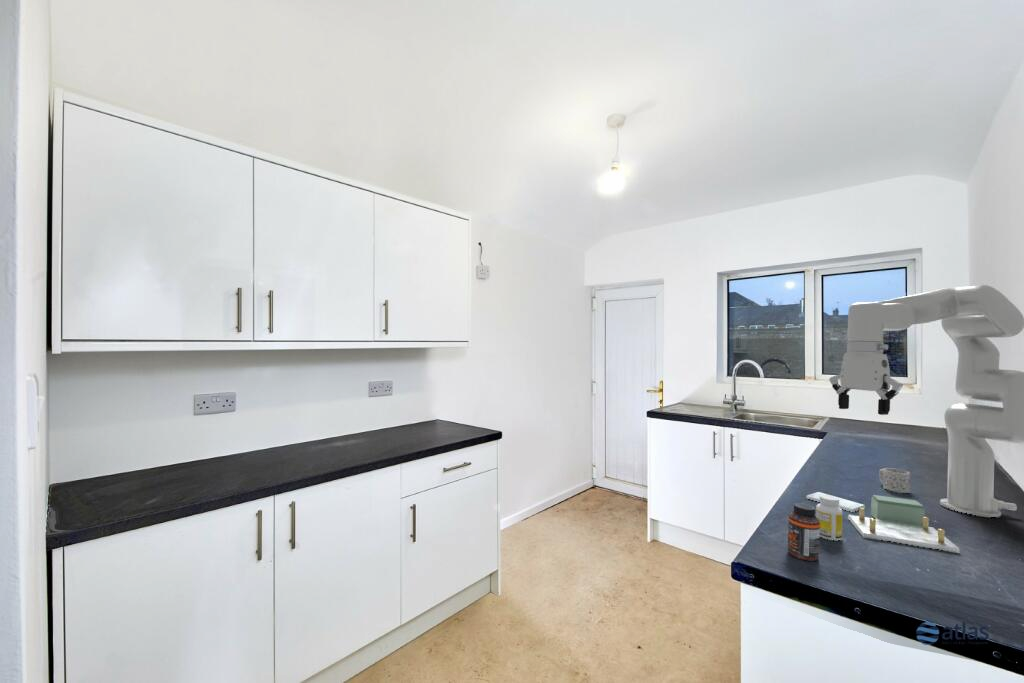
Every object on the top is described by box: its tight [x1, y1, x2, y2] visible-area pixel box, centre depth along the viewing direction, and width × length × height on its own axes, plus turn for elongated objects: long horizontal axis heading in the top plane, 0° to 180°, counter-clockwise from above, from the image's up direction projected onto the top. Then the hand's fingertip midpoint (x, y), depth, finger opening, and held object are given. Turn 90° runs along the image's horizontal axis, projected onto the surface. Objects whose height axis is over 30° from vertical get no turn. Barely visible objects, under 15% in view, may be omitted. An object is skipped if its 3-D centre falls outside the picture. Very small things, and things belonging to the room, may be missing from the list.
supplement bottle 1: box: [787, 502, 821, 562], centre depth 99 cm, size 6×6×11 cm
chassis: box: [847, 507, 960, 554], centre depth 111 cm, size 18×13×4 cm
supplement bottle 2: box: [815, 494, 844, 542], centre depth 109 cm, size 5×5×10 cm
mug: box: [878, 467, 911, 494], centre depth 149 cm, size 10×7×7 cm, turn 179°
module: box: [870, 494, 926, 526], centre depth 120 cm, size 10×5×6 cm, turn 66°
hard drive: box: [805, 491, 866, 513], centre depth 133 cm, size 2×8×12 cm
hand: (862, 411), depth 118 cm, fingers open, 9 cm apart
